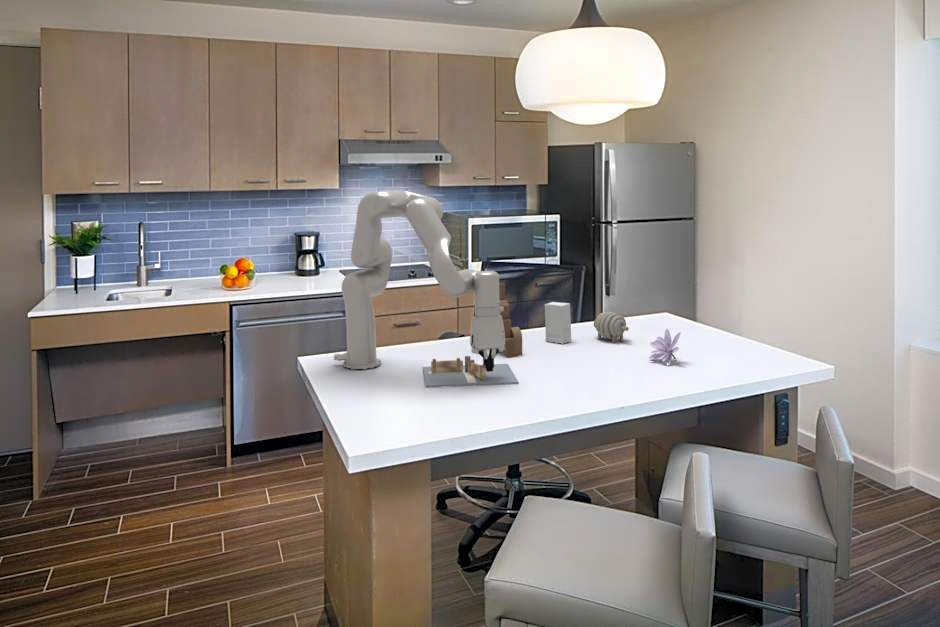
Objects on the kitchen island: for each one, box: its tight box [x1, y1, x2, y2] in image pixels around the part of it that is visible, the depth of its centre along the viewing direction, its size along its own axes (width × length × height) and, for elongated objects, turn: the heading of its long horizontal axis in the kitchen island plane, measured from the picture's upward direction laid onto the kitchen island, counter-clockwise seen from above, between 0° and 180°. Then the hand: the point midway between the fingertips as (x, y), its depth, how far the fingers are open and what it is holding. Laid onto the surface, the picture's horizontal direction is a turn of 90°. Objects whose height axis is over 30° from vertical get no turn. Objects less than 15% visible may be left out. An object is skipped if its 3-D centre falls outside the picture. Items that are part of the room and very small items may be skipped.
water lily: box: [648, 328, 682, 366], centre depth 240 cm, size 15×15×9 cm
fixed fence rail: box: [430, 357, 464, 372], centre depth 228 cm, size 10×1×4 cm, turn 96°
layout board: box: [422, 363, 520, 388], centre depth 226 cm, size 28×22×1 cm
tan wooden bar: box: [468, 359, 486, 380], centre depth 222 cm, size 10×1×4 cm, turn 26°
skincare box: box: [544, 301, 572, 345], centre depth 270 cm, size 8×6×15 cm
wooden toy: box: [499, 282, 523, 358], centre depth 254 cm, size 16×7×25 cm, turn 24°
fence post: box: [464, 355, 472, 372], centre depth 228 cm, size 2×2×6 cm
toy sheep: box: [593, 311, 630, 343], centre depth 272 cm, size 11×17×11 cm, turn 39°
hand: (488, 370), depth 221 cm, fingers closed
